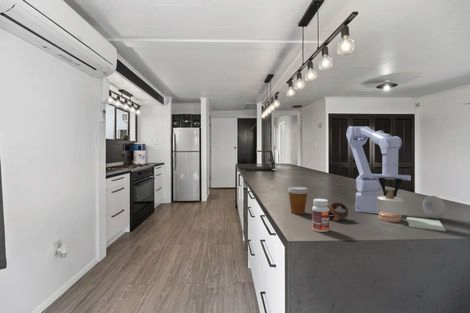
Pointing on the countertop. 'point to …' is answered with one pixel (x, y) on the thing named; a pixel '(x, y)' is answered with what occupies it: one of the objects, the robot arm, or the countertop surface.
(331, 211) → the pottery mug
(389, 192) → the lid
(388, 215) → the orange round disc
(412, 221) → the mat
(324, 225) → the pill bottle
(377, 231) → the countertop surface
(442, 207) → the white tape roll
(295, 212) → the disposable coffee cup
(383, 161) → the robot arm
